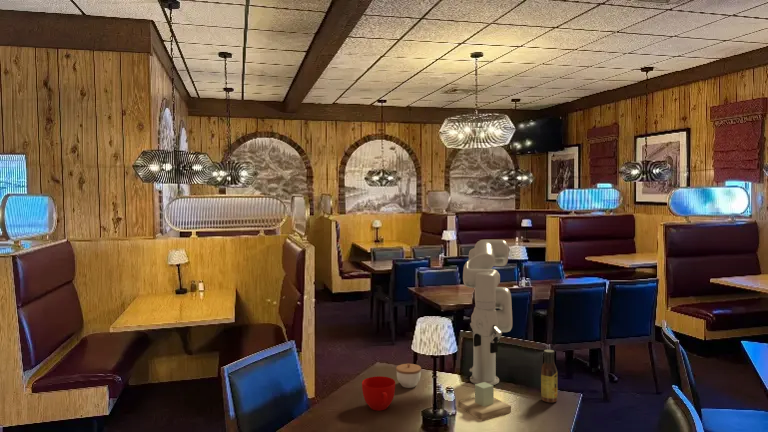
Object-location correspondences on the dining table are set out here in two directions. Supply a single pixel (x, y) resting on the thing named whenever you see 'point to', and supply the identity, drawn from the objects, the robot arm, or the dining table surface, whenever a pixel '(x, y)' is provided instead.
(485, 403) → the green block
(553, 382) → the sauce bottle
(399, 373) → the lidded jar
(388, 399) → the ceramic cup
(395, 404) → the dining table surface
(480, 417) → the riser block
